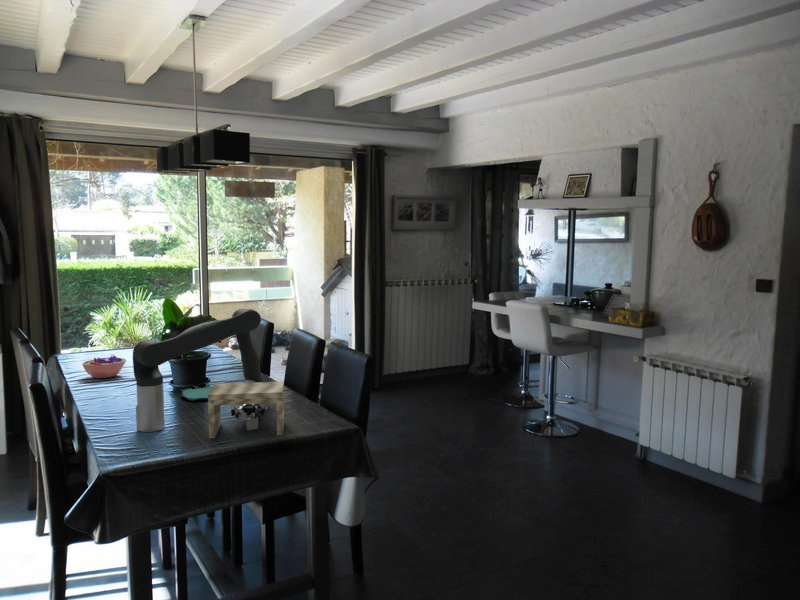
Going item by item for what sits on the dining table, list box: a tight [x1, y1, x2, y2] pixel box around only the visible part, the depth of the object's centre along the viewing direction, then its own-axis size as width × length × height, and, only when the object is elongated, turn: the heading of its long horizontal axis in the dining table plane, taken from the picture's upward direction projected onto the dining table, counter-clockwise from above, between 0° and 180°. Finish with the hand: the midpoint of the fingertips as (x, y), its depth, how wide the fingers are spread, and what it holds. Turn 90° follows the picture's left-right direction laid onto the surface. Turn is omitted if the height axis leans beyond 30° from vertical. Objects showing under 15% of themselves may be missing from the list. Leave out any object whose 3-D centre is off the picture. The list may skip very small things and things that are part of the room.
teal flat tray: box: [179, 383, 213, 402], centre depth 281 cm, size 20×30×2 cm, turn 31°
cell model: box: [81, 354, 127, 379], centre depth 310 cm, size 17×20×11 cm
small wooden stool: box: [207, 381, 285, 439], centre depth 229 cm, size 26×16×16 cm, turn 99°
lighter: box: [239, 410, 259, 431], centre depth 230 cm, size 7×2×8 cm, turn 127°
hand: (246, 415), depth 227 cm, fingers closed on lighter, 6 cm apart
